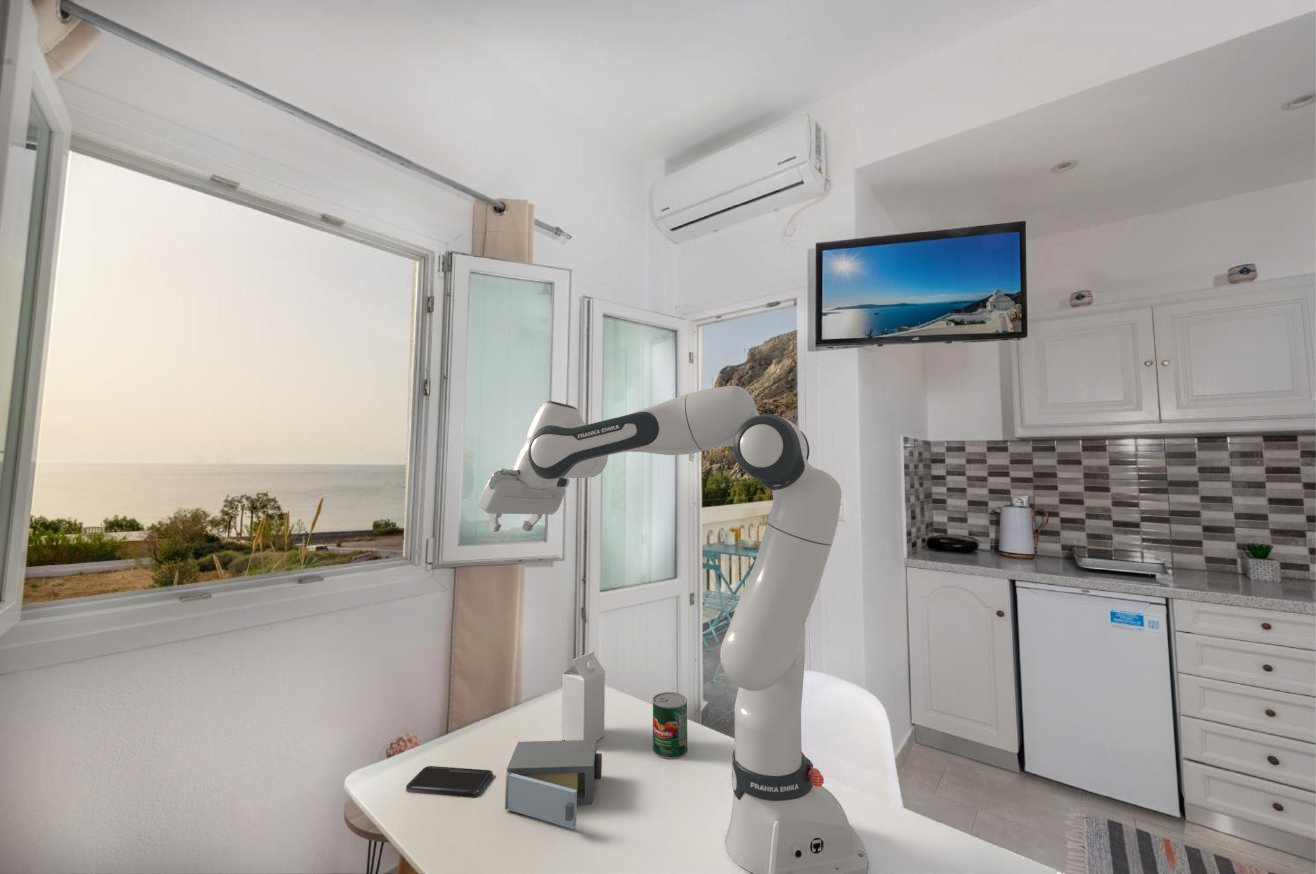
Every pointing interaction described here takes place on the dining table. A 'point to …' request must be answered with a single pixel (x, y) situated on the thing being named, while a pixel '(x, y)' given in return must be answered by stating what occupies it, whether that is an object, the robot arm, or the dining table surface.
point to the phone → (450, 781)
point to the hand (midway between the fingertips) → (510, 530)
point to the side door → (541, 800)
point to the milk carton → (583, 699)
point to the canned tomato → (670, 725)
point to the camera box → (560, 765)
